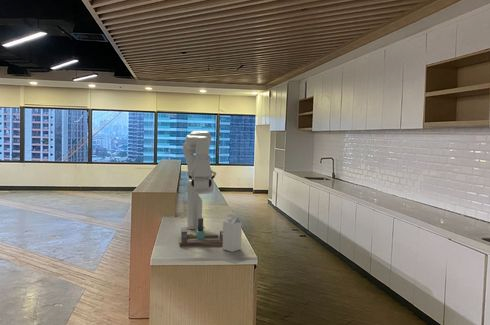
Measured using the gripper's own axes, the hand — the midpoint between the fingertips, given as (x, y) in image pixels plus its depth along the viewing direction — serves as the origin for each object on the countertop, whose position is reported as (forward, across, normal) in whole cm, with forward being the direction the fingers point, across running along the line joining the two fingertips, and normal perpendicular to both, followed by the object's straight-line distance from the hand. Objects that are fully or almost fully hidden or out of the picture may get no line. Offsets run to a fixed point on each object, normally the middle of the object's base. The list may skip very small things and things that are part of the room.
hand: (201, 186), depth 260 cm
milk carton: (+31, -15, +28) cm, 44 cm away
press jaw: (+28, +1, +14) cm, 31 cm away
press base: (+30, 0, +14) cm, 33 cm away
